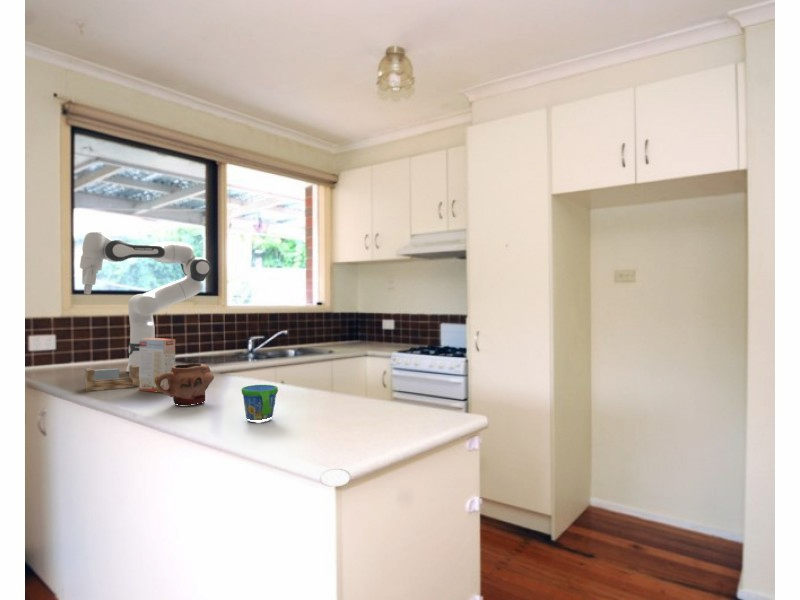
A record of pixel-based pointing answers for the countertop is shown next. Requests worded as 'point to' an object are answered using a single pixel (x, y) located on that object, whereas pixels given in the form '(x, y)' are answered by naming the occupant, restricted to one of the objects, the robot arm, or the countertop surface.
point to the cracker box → (155, 362)
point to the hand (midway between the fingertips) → (87, 294)
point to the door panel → (106, 374)
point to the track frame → (111, 380)
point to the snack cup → (259, 401)
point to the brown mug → (187, 383)
